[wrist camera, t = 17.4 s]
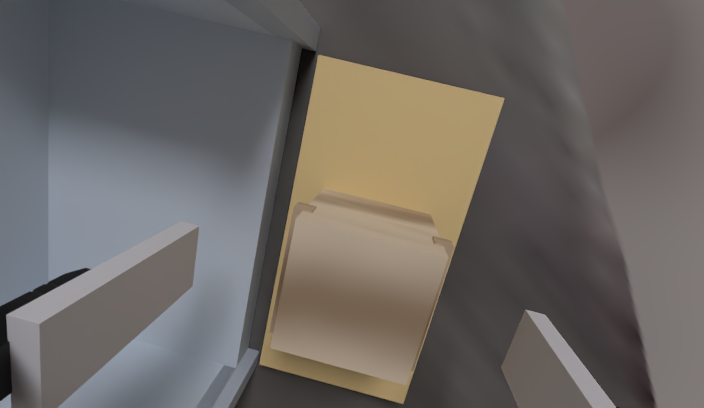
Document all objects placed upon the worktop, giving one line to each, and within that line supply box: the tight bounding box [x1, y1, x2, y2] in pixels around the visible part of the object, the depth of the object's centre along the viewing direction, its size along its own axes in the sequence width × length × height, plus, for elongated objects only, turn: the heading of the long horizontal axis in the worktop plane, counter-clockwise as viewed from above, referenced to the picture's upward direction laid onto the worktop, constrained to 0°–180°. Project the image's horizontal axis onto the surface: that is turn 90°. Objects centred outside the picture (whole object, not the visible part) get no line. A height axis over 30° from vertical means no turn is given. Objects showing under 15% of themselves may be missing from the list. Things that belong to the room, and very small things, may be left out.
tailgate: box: [259, 55, 505, 404], centre depth 21 cm, size 19×1×10 cm
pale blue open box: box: [0, 0, 320, 408], centre depth 17 cm, size 22×15×11 cm
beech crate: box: [269, 188, 454, 385], centre depth 17 cm, size 6×7×6 cm
